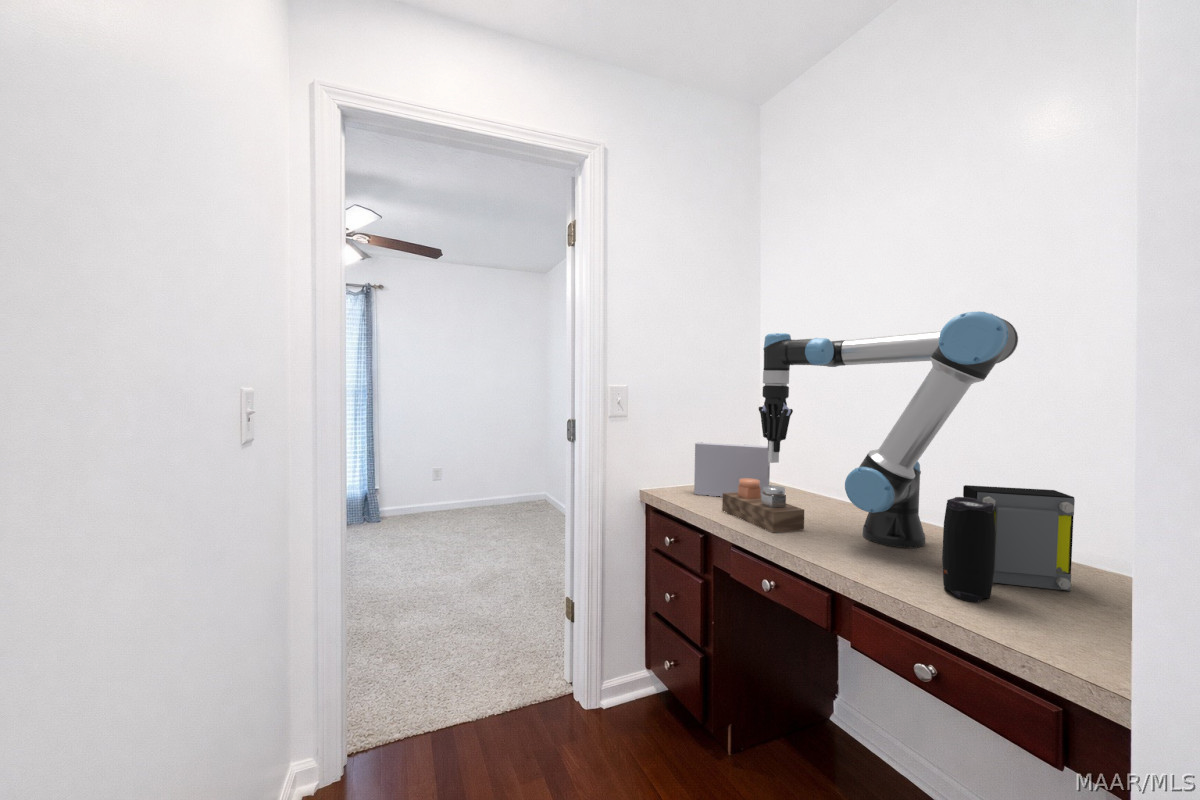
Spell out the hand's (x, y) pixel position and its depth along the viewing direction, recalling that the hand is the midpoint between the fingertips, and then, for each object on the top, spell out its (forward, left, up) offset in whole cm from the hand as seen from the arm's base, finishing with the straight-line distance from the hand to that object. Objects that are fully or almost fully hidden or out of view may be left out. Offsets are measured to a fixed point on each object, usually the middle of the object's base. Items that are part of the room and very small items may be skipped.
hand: (773, 462), depth 151 cm
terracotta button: (+12, 0, -14) cm, 18 cm away
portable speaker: (-54, -5, -19) cm, 58 cm away
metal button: (0, 0, -14) cm, 14 cm away
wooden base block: (+6, 0, -19) cm, 20 cm away
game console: (+36, -10, -20) cm, 42 cm away
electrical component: (-52, -23, -20) cm, 60 cm away
